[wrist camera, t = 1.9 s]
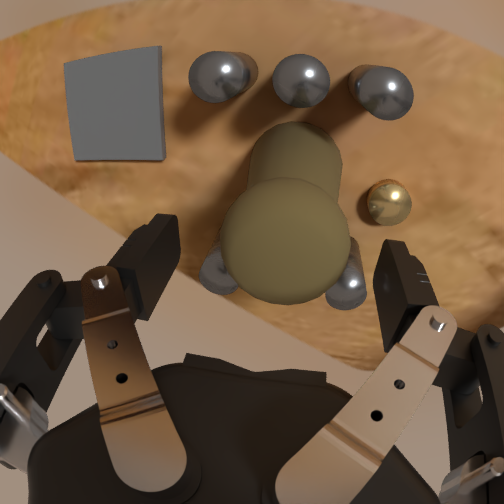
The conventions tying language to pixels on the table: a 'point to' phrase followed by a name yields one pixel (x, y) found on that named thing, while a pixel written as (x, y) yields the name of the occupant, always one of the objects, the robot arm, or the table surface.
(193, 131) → the table surface
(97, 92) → the coaster
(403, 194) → the glossy gold bead
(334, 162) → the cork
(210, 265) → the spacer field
